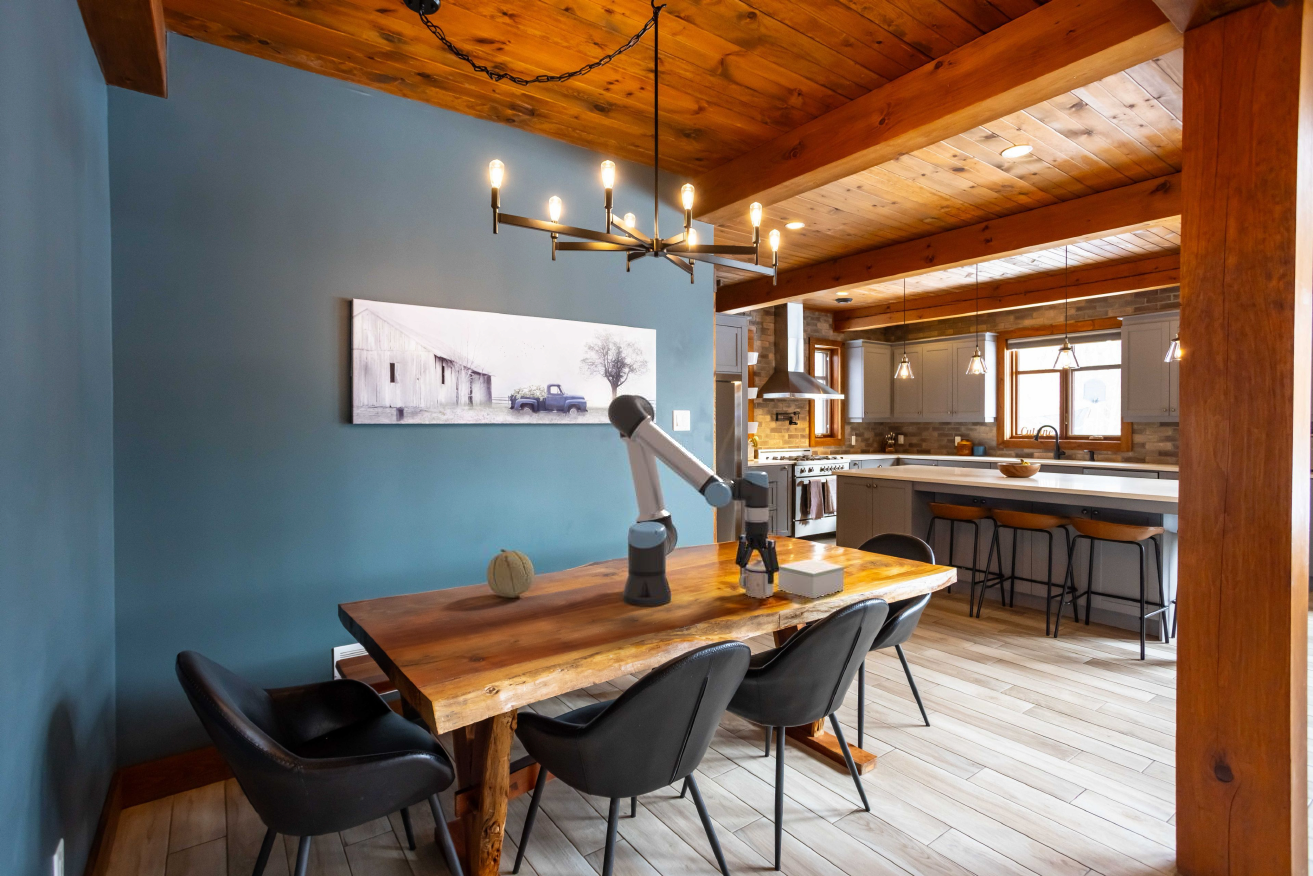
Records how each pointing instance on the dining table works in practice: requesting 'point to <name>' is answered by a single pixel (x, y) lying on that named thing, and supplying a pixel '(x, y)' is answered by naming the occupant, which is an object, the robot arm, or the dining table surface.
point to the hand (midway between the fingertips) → (756, 590)
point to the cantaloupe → (510, 573)
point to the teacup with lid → (755, 579)
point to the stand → (810, 578)
